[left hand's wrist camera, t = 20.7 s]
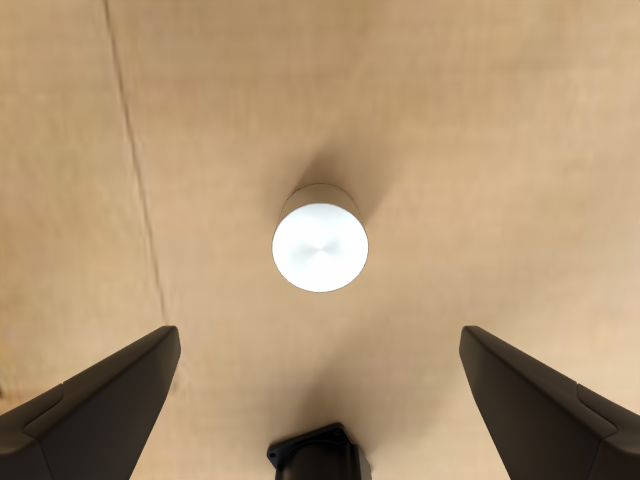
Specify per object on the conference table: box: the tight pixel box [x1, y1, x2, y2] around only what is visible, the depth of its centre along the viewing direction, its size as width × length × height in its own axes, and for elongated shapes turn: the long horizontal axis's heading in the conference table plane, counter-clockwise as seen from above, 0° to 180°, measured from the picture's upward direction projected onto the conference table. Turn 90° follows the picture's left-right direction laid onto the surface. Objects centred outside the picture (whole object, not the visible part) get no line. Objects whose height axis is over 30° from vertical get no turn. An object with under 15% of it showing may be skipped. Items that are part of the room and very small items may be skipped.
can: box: [272, 184, 369, 292], centre depth 21 cm, size 5×5×4 cm
